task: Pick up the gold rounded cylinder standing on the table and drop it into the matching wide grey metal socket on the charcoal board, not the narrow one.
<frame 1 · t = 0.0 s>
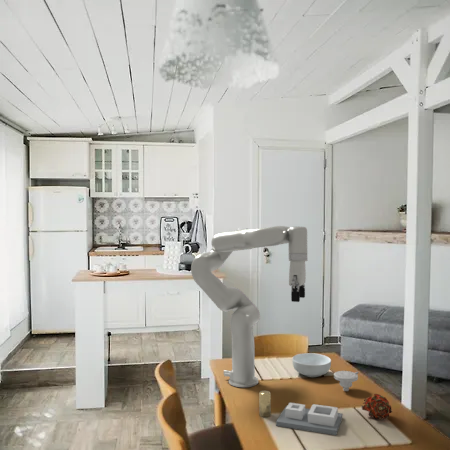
hand: (298, 299, 192), 37 cm above the table, tool pointing down, fingers open, 9 cm apart
dragon fruit: (376, 417, 167), on the table
gold rounded cylinder: (265, 414, 169), on the table
showerhead: (346, 390, 192), on the table
cereal bowl: (311, 374, 211), on the table
socket board: (309, 421, 163), on the table
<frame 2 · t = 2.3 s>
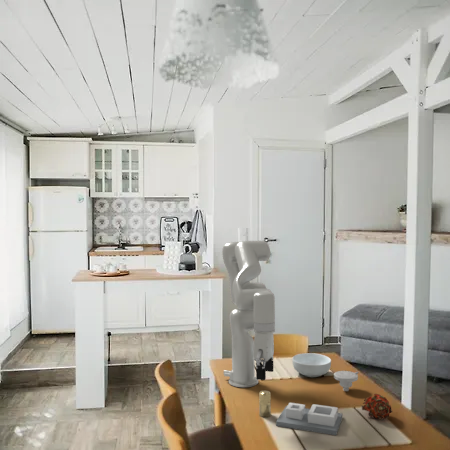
hand: (265, 375, 168), 14 cm above the table, tool pointing down, fingers open, 9 cm apart
nothing on the table moved.
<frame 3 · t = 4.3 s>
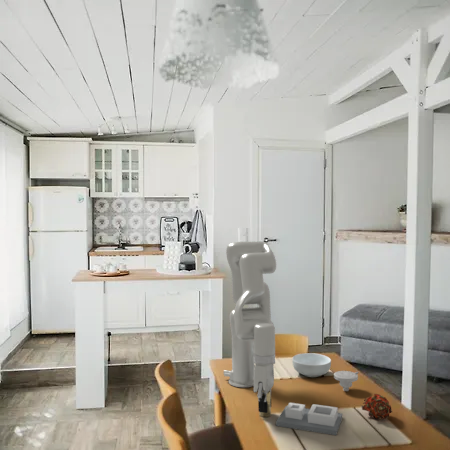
hand: (265, 409, 169), 2 cm above the table, tool pointing down, fingers closed on gold rounded cylinder, 4 cm apart
gold rounded cylinder: (265, 414, 169), on the table, touching gripper
everything else where it was.
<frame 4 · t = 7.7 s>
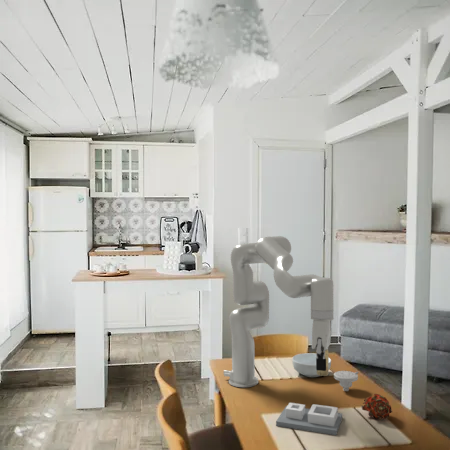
hand: (322, 367, 161), 19 cm above the table, tool pointing down, fingers closed on gold rounded cylinder, 4 cm apart
gold rounded cylinder: (322, 373, 161), point 17 cm above the table, touching gripper
everything else where it was.
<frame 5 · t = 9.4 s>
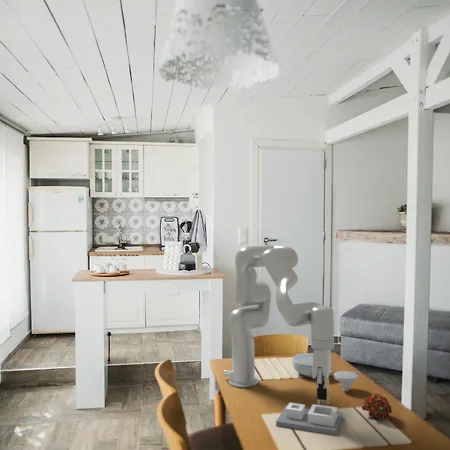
hand: (323, 396, 161), 9 cm above the table, tool pointing down, fingers closed on gold rounded cylinder, 4 cm apart
gold rounded cylinder: (323, 402, 161), point 7 cm above the table, touching gripper
everything else where it was.
when the fingers open (5 cm above the table, at t = 11.0 s): gold rounded cylinder drops 2 cm, resting on socket board.
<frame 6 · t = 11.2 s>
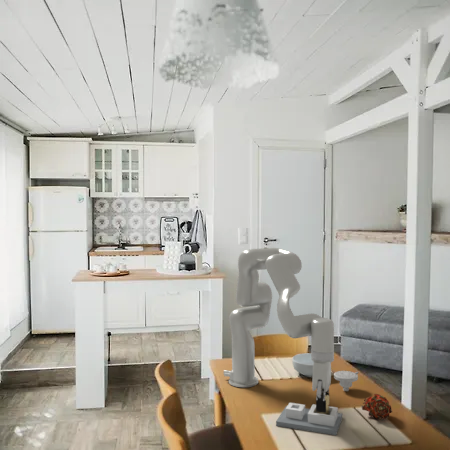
hand: (322, 407, 162), 6 cm above the table, tool pointing down, fingers open, 6 cm apart
gold rounded cylinder: (322, 419, 162), point 2 cm above the table, touching socket board
everything else where it was.
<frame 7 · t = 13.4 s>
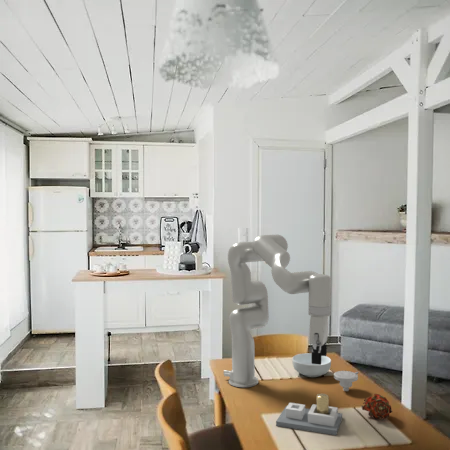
hand: (319, 359, 164), 21 cm above the table, tool pointing down, fingers open, 9 cm apart
nothing on the table moved.
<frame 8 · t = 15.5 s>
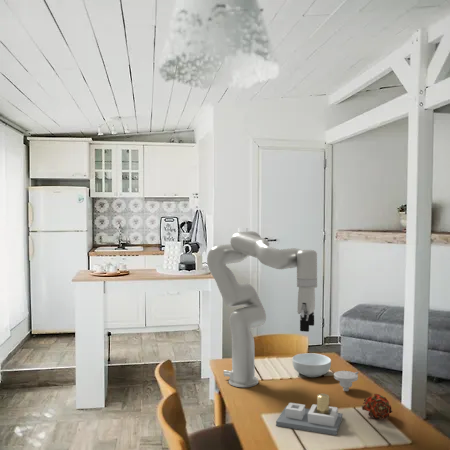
hand: (307, 328, 179), 28 cm above the table, tool pointing down, fingers open, 9 cm apart
nothing on the table moved.
at the end: gold rounded cylinder 0.1 cm from the target spot on the socket board, point 1.5 cm above the socket board's base; gold rounded cylinder tilted 1°; the gripper is holding nothing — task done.
